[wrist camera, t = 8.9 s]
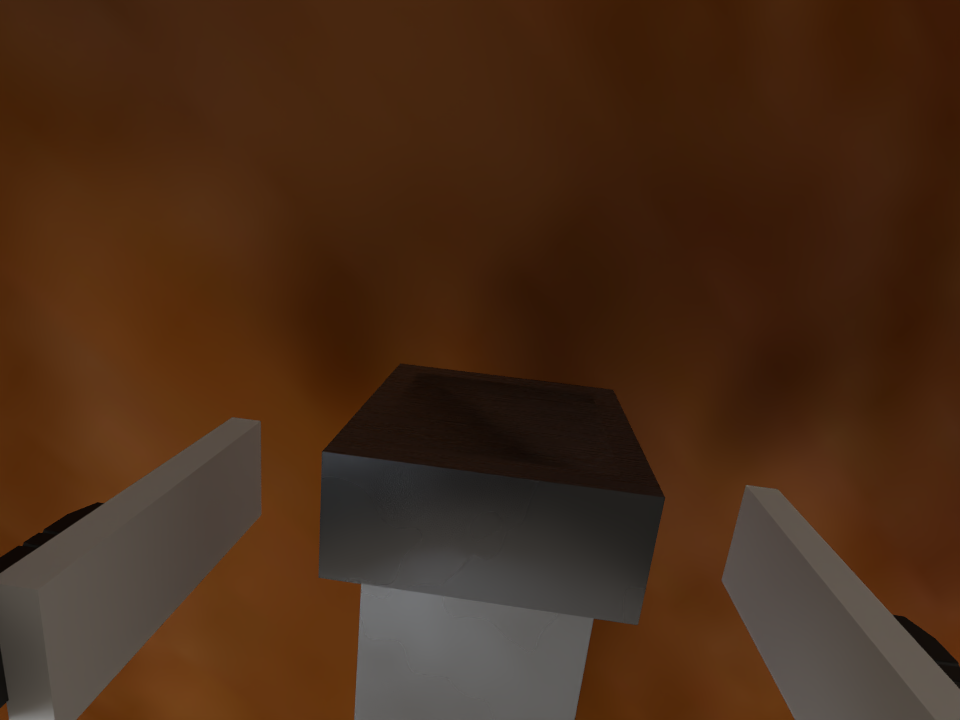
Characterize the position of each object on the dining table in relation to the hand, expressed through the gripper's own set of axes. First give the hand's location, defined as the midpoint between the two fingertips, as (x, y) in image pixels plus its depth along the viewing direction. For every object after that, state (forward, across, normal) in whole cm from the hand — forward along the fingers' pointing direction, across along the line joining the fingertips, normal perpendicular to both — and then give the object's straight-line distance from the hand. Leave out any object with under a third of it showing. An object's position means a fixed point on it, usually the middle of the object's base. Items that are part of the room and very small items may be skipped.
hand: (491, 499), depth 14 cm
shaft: (-1, 0, -8) cm, 8 cm away
